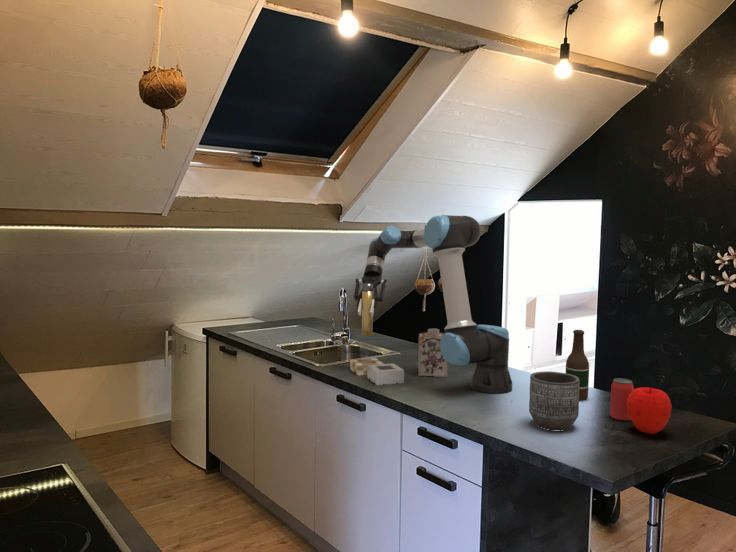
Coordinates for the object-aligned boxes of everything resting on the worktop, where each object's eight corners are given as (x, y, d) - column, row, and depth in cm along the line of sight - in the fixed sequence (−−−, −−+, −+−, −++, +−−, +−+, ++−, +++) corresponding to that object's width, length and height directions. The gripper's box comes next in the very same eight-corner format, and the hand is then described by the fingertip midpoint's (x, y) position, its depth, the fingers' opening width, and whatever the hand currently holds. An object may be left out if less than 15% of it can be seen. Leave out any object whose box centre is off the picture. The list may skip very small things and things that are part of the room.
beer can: (613, 413, 191) (615, 376, 190) (635, 417, 187) (636, 380, 186) (606, 418, 186) (608, 380, 185) (628, 422, 182) (630, 384, 181)
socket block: (403, 383, 226) (404, 370, 225) (376, 385, 222) (376, 372, 222) (393, 375, 236) (393, 363, 236) (367, 377, 233) (367, 365, 232)
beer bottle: (573, 402, 203) (575, 332, 201) (559, 395, 210) (562, 328, 208) (592, 400, 205) (595, 331, 203) (579, 394, 212) (581, 327, 210)
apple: (627, 437, 170) (629, 391, 169) (622, 423, 181) (625, 380, 180) (673, 441, 167) (675, 395, 165) (665, 428, 178) (668, 384, 177)
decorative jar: (446, 370, 246) (447, 327, 244) (447, 377, 234) (448, 332, 233) (417, 369, 247) (418, 326, 246) (417, 376, 236) (418, 331, 234)
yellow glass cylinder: (374, 335, 240) (374, 283, 238) (363, 336, 239) (363, 284, 237) (370, 333, 245) (371, 282, 243) (360, 334, 243) (360, 283, 241)
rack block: (383, 373, 240) (384, 363, 239) (357, 375, 236) (357, 365, 236) (375, 367, 250) (375, 357, 250) (350, 369, 247) (350, 359, 246)
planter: (519, 425, 179) (521, 376, 178) (543, 415, 189) (545, 368, 188) (563, 437, 169) (565, 386, 168) (586, 426, 179) (588, 377, 178)
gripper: (395, 275, 253) (387, 320, 238) (355, 274, 256) (345, 318, 242) (393, 264, 247) (385, 309, 233) (352, 263, 251) (342, 307, 236)
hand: (365, 313), depth 237 cm, fingers closed on yellow glass cylinder, 4 cm apart
